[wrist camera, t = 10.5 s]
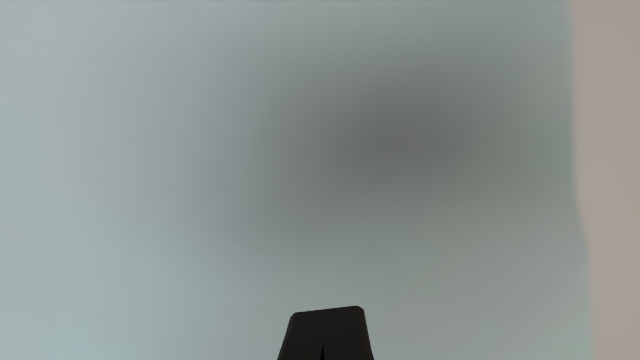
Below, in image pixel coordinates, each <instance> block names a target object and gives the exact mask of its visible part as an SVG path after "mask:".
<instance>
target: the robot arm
mask: <svg viewBox="0 0 640 360" xmlns="http://www.w3.org/2000/svg"><path fill="white" fill-rule="evenodd" d="M277 360H374V357H373V354H372V351H371V346H370V341H369V335H368V330H367V325H366V319H365V314H364V309H362V308H360V307H359V306H349V307H340V308H332V309H323V310H314V311H306V312H297V313H294V314H293V315H292V316H291V317H290V321H289V324H288V328H287V331H286V335H285V338H284V341H283V344H282V347H281V350H280V353H279V356H278V358H277Z"/></svg>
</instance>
